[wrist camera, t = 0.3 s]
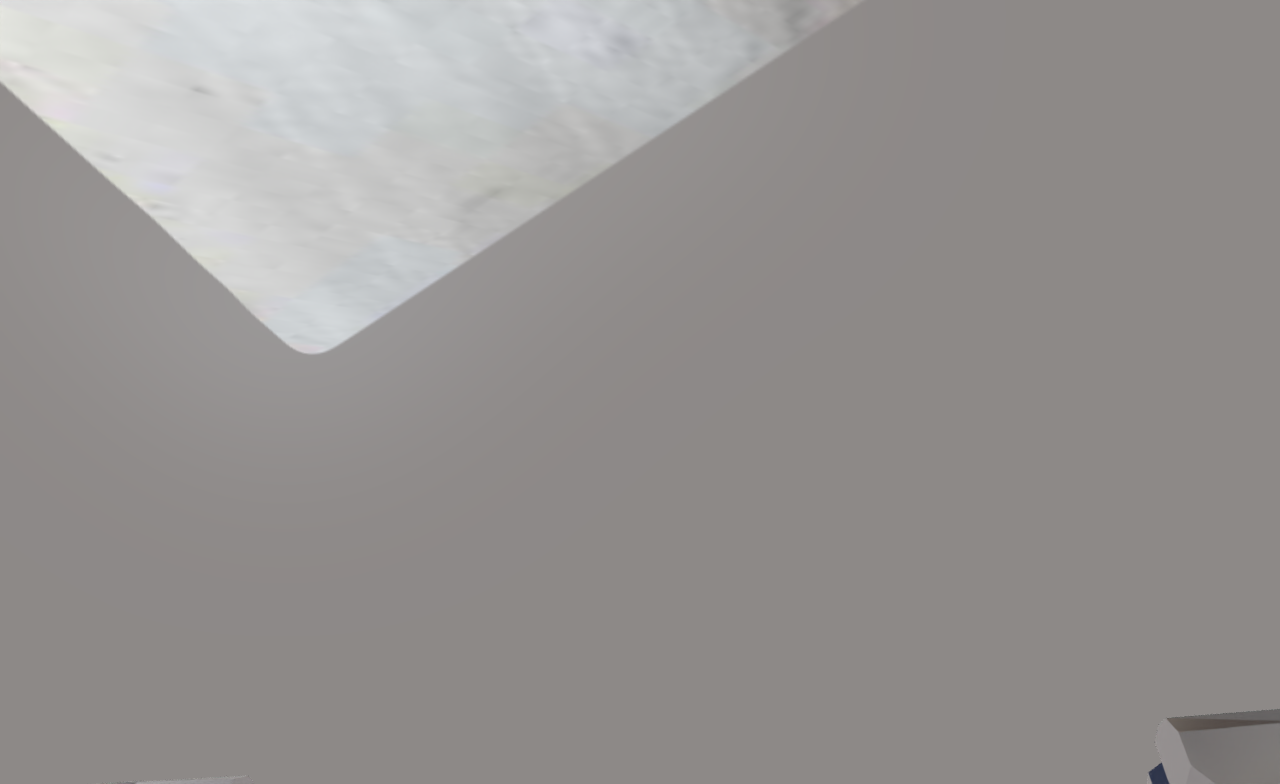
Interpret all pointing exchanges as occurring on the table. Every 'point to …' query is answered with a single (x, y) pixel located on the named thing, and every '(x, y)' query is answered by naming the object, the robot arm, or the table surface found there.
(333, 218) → the table surface
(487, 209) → the table surface
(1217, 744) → the robot arm
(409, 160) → the table surface
